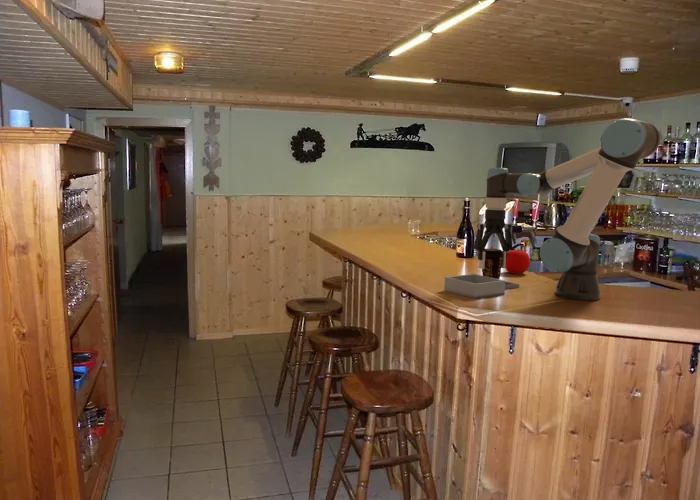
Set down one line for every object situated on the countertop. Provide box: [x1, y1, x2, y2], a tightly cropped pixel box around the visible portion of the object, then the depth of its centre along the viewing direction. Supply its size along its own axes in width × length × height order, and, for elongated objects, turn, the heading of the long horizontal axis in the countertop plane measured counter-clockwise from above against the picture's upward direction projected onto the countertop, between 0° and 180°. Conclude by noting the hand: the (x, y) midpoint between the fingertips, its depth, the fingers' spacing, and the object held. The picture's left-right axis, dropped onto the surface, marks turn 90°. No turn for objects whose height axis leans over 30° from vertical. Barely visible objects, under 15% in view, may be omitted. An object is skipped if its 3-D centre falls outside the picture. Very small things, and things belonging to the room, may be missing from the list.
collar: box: [504, 280, 520, 290], centre depth 210 cm, size 15×15×1 cm
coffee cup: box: [481, 248, 503, 279], centre depth 209 cm, size 9×8×13 cm
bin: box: [443, 273, 506, 300], centre depth 196 cm, size 15×15×5 cm
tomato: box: [504, 248, 531, 275], centre depth 238 cm, size 10×11×11 cm
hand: (492, 268), depth 209 cm, fingers closed on coffee cup, 8 cm apart
